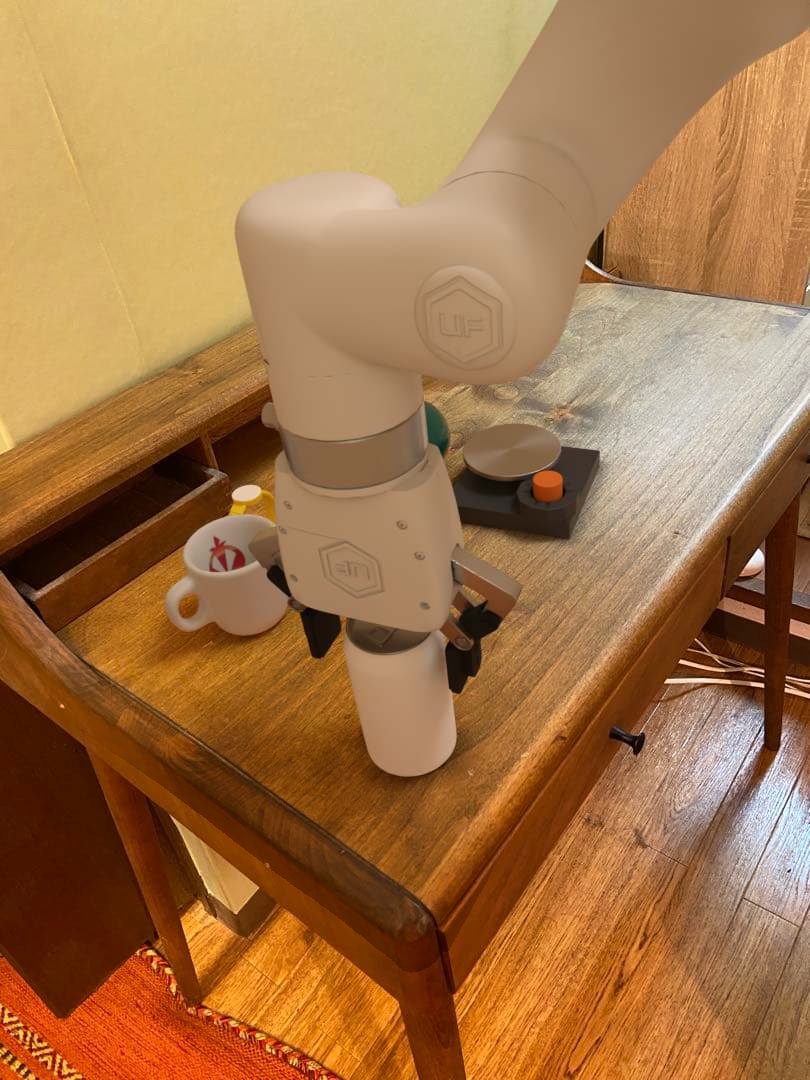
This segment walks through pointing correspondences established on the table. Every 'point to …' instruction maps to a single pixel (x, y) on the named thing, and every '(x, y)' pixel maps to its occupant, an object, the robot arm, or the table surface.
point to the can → (401, 696)
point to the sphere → (437, 429)
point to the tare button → (547, 486)
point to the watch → (252, 500)
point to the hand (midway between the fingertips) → (393, 659)
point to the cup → (227, 579)
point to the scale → (529, 497)
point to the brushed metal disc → (511, 452)
